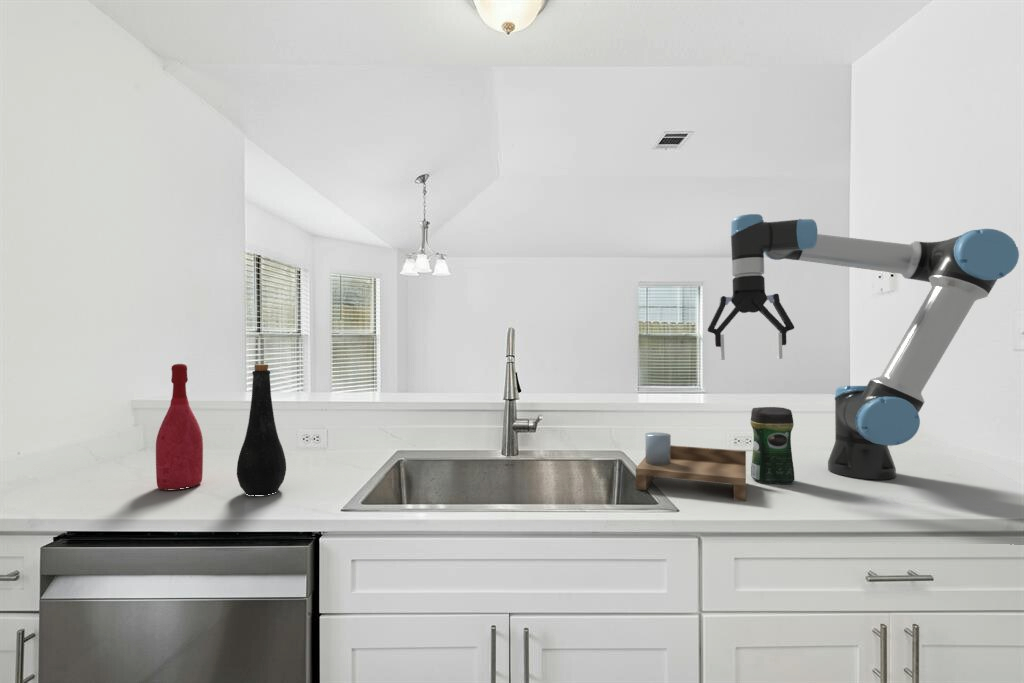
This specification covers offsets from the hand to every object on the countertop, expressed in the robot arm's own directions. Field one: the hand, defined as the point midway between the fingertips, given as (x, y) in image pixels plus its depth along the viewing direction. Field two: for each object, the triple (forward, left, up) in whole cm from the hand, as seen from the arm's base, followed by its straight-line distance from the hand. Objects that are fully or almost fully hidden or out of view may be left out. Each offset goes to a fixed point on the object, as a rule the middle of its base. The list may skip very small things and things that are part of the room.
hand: (750, 359), depth 138 cm
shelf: (+13, +14, -31) cm, 36 cm away
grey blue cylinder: (+21, +14, -26) cm, 36 cm away
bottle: (+105, +59, -31) cm, 124 cm away
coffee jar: (-5, +1, -31) cm, 31 cm away
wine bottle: (+128, +63, -31) cm, 146 cm away
